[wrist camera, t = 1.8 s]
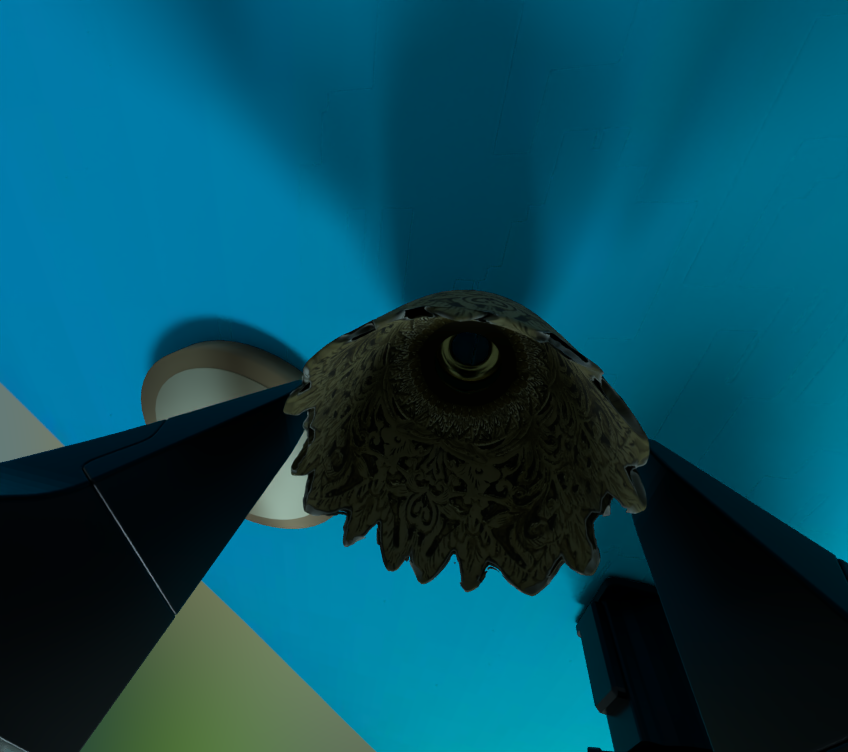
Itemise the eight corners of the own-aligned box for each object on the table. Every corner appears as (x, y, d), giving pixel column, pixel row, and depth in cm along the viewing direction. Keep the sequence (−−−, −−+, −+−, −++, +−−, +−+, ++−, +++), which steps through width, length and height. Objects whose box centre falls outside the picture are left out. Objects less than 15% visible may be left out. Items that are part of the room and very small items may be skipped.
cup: (405, 233, 12) (273, 257, 5) (598, 284, 11) (770, 398, 4) (377, 392, 15) (280, 538, 8) (521, 437, 15) (544, 632, 8)
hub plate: (352, 360, 15) (340, 371, 14) (360, 531, 21) (353, 548, 20) (128, 325, 17) (101, 333, 15) (196, 491, 23) (181, 505, 22)
